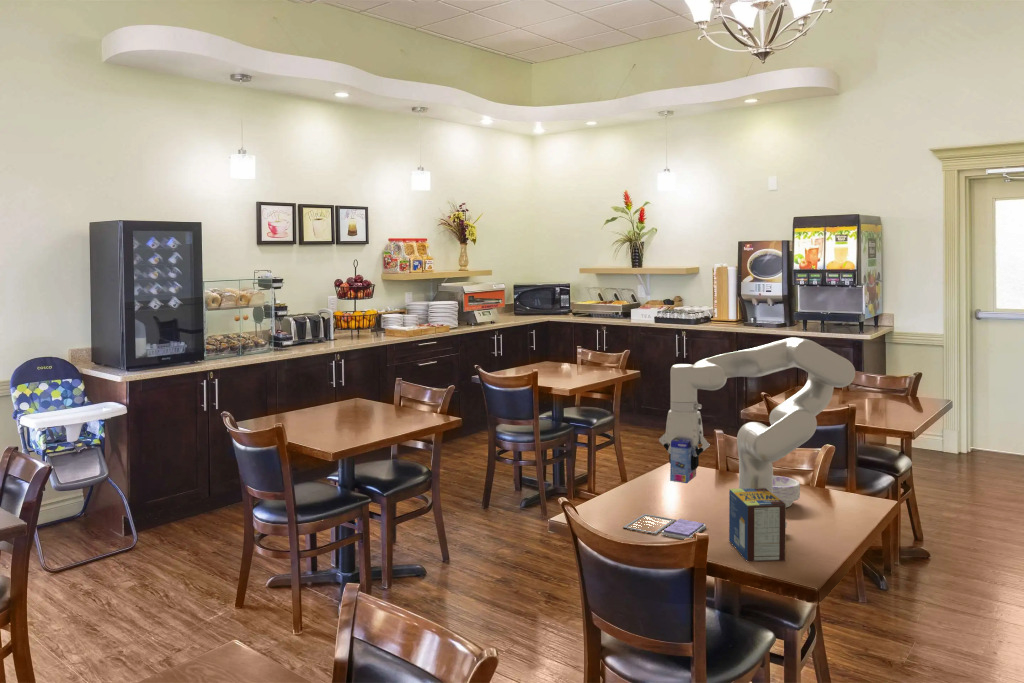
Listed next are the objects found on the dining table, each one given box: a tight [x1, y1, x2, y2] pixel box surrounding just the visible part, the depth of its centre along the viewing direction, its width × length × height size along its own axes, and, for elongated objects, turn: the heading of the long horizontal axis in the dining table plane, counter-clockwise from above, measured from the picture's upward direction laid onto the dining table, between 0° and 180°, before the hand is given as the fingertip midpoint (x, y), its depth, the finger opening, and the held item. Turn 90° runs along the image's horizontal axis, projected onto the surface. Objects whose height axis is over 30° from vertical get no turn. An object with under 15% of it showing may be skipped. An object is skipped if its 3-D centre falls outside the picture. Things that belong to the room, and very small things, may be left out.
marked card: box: [622, 513, 677, 535], centre depth 232 cm, size 11×15×1 cm
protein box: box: [728, 488, 787, 562], centre depth 209 cm, size 10×15×16 cm
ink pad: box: [661, 518, 707, 540], centre depth 226 cm, size 9×13×2 cm
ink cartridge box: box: [669, 439, 697, 484], centre depth 224 cm, size 10×6×14 cm, turn 151°
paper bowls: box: [773, 475, 801, 508], centre depth 250 cm, size 15×15×8 cm
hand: (683, 467), depth 224 cm, fingers closed on ink cartridge box, 5 cm apart
